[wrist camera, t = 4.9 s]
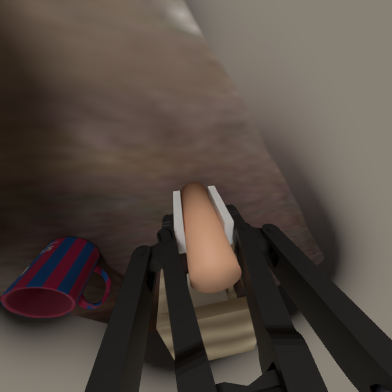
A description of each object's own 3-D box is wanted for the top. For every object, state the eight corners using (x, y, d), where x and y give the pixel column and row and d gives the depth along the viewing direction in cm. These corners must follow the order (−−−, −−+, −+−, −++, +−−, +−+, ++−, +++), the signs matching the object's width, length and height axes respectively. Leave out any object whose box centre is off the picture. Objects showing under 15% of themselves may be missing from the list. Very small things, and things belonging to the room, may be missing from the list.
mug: (63, 228, 20) (18, 278, 14) (127, 259, 24) (113, 306, 19) (38, 254, 21) (-12, 309, 16) (102, 279, 26) (82, 328, 20)
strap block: (167, 185, 18) (163, 271, 8) (216, 178, 18) (264, 252, 9) (190, 290, 30) (198, 372, 21) (218, 285, 31) (239, 362, 21)
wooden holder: (161, 250, 24) (156, 328, 16) (235, 237, 25) (269, 304, 17) (177, 298, 33) (179, 367, 24) (232, 287, 34) (253, 349, 25)
